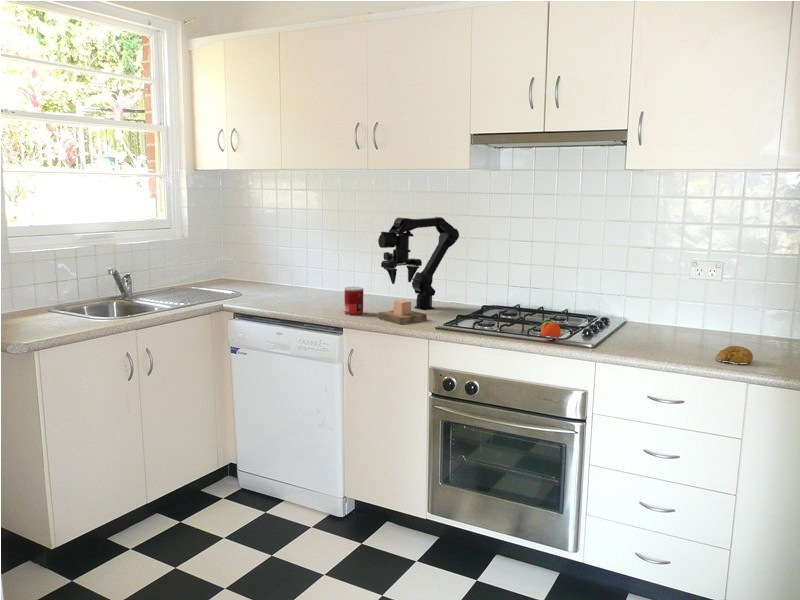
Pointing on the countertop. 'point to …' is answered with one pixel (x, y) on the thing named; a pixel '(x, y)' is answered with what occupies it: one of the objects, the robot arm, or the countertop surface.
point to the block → (402, 307)
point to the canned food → (353, 300)
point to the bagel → (735, 354)
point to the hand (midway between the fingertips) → (401, 283)
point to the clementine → (550, 329)
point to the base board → (402, 317)
